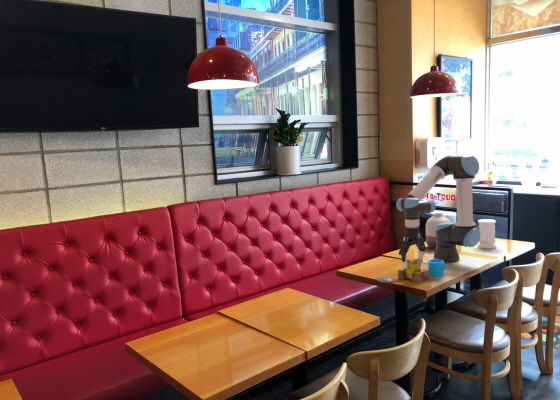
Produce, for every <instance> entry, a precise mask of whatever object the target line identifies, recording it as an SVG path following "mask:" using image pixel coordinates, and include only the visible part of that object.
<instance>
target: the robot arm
mask: <svg viewBox="0 0 560 400" xmlns="http://www.w3.org/2000/svg"><path fill="white" fill-rule="evenodd" d="M479 170H480V163H479V160H478V159H477V158H476V156H475V155H472V154H456V155H453V154H452V155H446V156H444V157H443V158H440V159H439V160H438V161H437V162H435V163H434V164H433V165H432V166H431V167H430V171H429V172H428V173H427V174H426V175H425V176H424V177H423V178H422V179H421V180H420V181H419V182H418V183H417V185H415V186H414V188H413V189H412V190H411V191H410V192H409V193H408V194H407V195H406V196H405V197H400V198H398V199H397V200H396V203H395V206H396V209H397V210H398V211H400V212H404V221H405V222H404V233H405V235H406V236H402V240H401V245H400V247H399V251H398V256H401V265H402V266H401V267H402V268H407V259H408V256H407V254H408V252H409V251H410V250H409V249H410V248H411V246H412V245H415V246H416V247H417V249H418V251H417V259H421V264H424V252H426V250H427V245H426V244H425V241H424V239H423V234H422V233H420V230H421V229H420V225H421V224H420V215H425V214H431V213H433V212H435V210H436V202H435V201H434V200H433V199H427V198H426V199H424V198H425V196H426V195H427V194H428V193H429V192H430V191H431V190H432V189H433V188H434V187H435V186H436V184H438V182H440V180H442V179H445V178H446V177H447V176H452V178H453V180H454V181H455V182H456V183H455V187H456V189H455V190H456V222H454V221H453V222H452V221H450V222H447V223H440V224H437V225H436V249H434V250H435V251H434V253H433V259H439V260H443V261H444V262H445V263H456V262H459V261H460V254H459V251H458V248H457V246H459V247H465V248H474V247H475V246H478V244H479V240H480V236H481V233H480V231H479V228H478V227H477V224H476V222H474V215H473V214H474V213H473V210H474V209H473V205H474V204H473V181H474V179H475V178H476V175H477V174H478V173H479Z"/></svg>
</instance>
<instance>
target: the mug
mask: <svg viewBox="0 0 560 400" xmlns="http://www.w3.org/2000/svg"><path fill="white" fill-rule="evenodd" d="M446 267H447V265H446V262H444V261H443V260H439V259H434V258H432V259H428V260H427V269H428V270H429V277H430V278H443V277H444V276H445V270H446Z"/></svg>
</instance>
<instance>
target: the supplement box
mask: <svg viewBox="0 0 560 400" xmlns="http://www.w3.org/2000/svg"><path fill="white" fill-rule="evenodd" d="M420 271H422V263H421V259H418V257H417V258H416V257H411V258H407V268H406V278H405V279H407V280H410V281H412V273H413V272H414V273H417V272H420Z"/></svg>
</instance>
